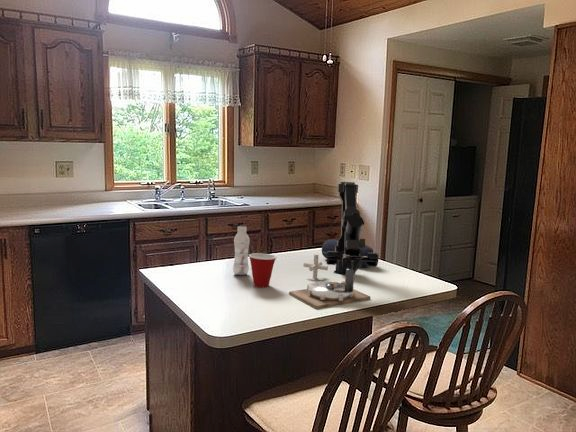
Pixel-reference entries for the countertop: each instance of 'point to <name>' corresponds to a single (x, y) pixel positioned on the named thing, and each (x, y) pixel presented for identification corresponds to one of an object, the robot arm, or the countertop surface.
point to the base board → (318, 303)
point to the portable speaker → (331, 245)
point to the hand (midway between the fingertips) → (352, 279)
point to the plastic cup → (262, 268)
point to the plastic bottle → (241, 251)
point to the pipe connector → (315, 266)
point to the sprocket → (333, 288)
